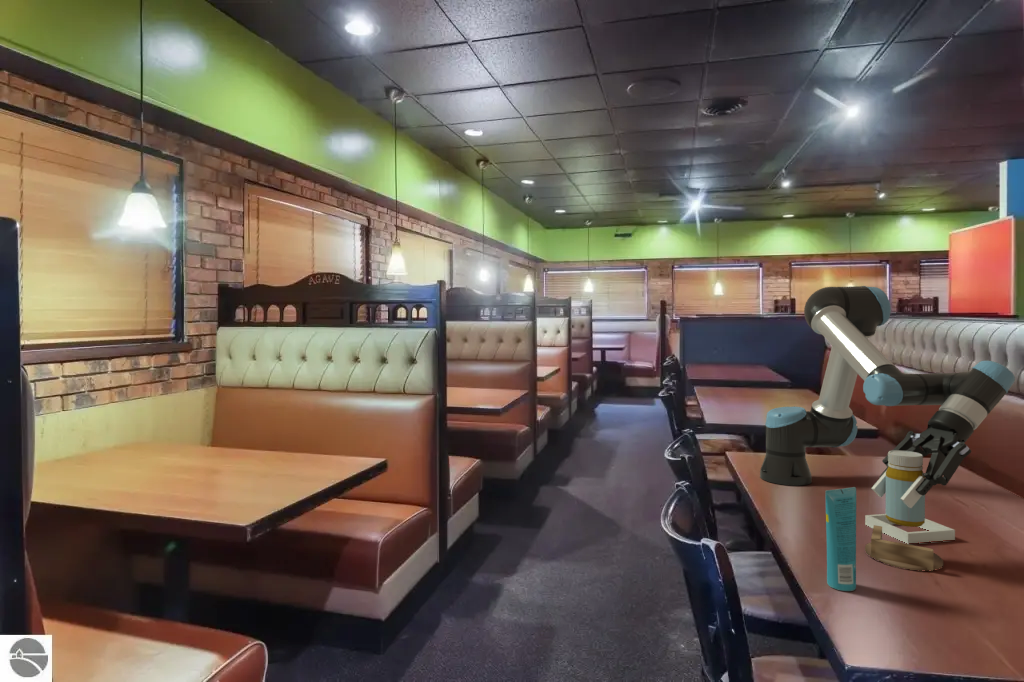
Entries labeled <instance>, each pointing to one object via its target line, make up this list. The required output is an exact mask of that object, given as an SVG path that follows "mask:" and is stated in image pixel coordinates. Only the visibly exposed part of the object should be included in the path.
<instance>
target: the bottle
mask: <svg viewBox="0 0 1024 682" xmlns="http://www.w3.org/2000/svg"><path fill="white" fill-rule="evenodd" d="M892 450H893V449H892ZM892 450H889V451H888V453H887V455H888V469H887V471H886V493H885V513H884V514H886V518H887V519H888V520H889V521H890V522H892V523H895V524H894V525H899V526H903V527H907V528H908V527H911V528H919V526H922V525H923V524H924V523H925V519H926V494H925V495H924V496H923V495H922V496H921V497H920V499H919V500H918V501H917V502H916V503H915V505H914V506H913V507H912V508H909V507H908V506H907V505H906V504H905V503H904V502H903V501H902V500H901V497H902V496H903V495H904V494H905V493H906V491H907V490H908V489H909V488H910V487H911V485H912V484H913V483H914V482H915V481H916V479H917V478H918V477H919V476H922V477H923V478H924V479H925V477H924V476H923V474H924V473H925V472H924V471H923V469H924V467H923V465H924V456H922V454H920V453H916V452H911V451H901V450H893V451H892ZM922 473H923V474H922Z"/></svg>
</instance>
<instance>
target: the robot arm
mask: <svg viewBox="0 0 1024 682" xmlns="http://www.w3.org/2000/svg"><path fill="white" fill-rule="evenodd" d="M890 301H891V300H889V296H888V295H887V294H886V292H885V291H884V290H883V289H881V288H879V287H877V286H867V285H861V286H860V285H859V286H856V285H855V286H825V287H823V288H819V289H817V290H816V291H814V292H813V293H812V294H810V296H809V297H808V298H807V300H806V302H805V304H804V307H803V313H804V319H805V321H806V323H807V325H808V326H809V327H810V329H812V331H813V332H814V333H816V334H818V335H822V336H823V337H824V338H825V339H826V340H827V341H828V342H829V343H830V345H831V349H830V352H829V356H828V360H827V364H826V368H825V369H826V370H825V372H824V376H823V381H822V385H821V389H820V393H819V397H818V399H817V400H814V401H813V402H812V403H811V408H810V410H809V411H807V410H806V408H804V407H801V406H781V407H775V408H772V409H770V410H768V411H767V412H766V416H765V417H766V418H765V456H764V458H763V462H762V464H761V468H760V471H759V478H760V479H761V480H764V481H765V482H768V483H772V484H777V485H784V486H807V485H810V484H812V479H813V477H812V473H811V468H810V467H809V464H808V461H807V459H806V451H807V450H806V448H839V447H846V446H849V445H850V444H851V443H852V442H853V441H855V438H856V436H857V433H858V425H857V424H858V421H857V417H855V415H854V414H853V412H854V411H853V410H852V409H851V407H850V405H851V400H852V397H853V393H854V389H855V385H856V382H857V377H858V376H859V377H860V378H861V379H862V380H863V381H864V382H863V385H862V389H863V391H862V392H863V393H864V394H865V399H866V401H868V402H869V403H870V404H871V405H874V406H886V407H896V406H897V407H898V406H899V407H901V406H902V407H903V406H940V407H939V408H938V410H936V411H935V412H934V414H933V415H932V416H931V418H930V419H929V420H928V421H927V428H926V429H925V430H923V431H922V432H921V433H914V431H913V430H909V431H908V432H907V433H906V435H905V437H904V439H902V440H901V441H900V442H899V443H898V444H897V445H896V446H895V447H894V448H893V449H892V450H891V451H893V450H901V451H911V452H916V453H920V454H922V456H923V457H926V456H928V455H930V454H931V455H930V458H929V462H928V464H927V467H926V470H925V472H923V473H924V474H923V473H922V474H923V476H924V477H925V479H924V478H923V477H922V476H919V477H918V478H917V479H916V481H915V482H914V483H913V484H912V485H911V487H910V488H909V489H908V490H907V491H906V493H905V494H904V495H903V496H902V497H901V500H902V501H903V502H904V503H905V504H906V505H907V506H908V507H909V508H912V507H913V506H914V505H915V503H916V502H917V501H918V500H919V499H920V497H921V496H922V495H923V496H924V495H925V496H926V494H928V492H929V491H930V490H931V489H932V487H933V486H937V485H941V486H947V485H948V484H949V482H950V480H951V479H952V477H953V476H954V474H955V473H956V472H957V470H958V468H959V467H960V465H961V464H962V462H963V461H964V459H965V458H966V457H967V456H969V455H970V454H971V453H972V450H971V448H970V447H969V446H968V445H967V444H966V442H967V441H968V439H969V438H970V437H971V436H972V435H973V433H974V432H975V430H976V429H978V427H979V426H980V425H981V424H982V422H983V421H984V420H985V419H986V418H987V416H988V415H989V414H990V413H991V412H993V411H992V410H994V409H995V407H996V406H997V405H998V404H999V403H1000V401H1001V400H1002V399H1003V398H1004V397H1005V396H1006V395H1007V394H1008V393H1009V390H1010V388H1012V387H1013V384H1014V383H1015V381H1016V377H1015V375H1014V373H1013V372H1012V371H1011V370H1010V369H1009V368H1008V367H1007V366H1006V365H1003V364H1001V363H999V362H996V361H993V360H981V361H979V362H978V363H977V364H975V365H974V366H973V367H971V370H970V371H962V372H943V373H942V372H940V373H939V372H938V373H934V372H933V373H904V372H902V371H901V369H899V368H898V367H897V366H896V365H895V364H894V363H893V362H892V361H891V360H890V359H889V358H887V357H886V355H885V354H884V353H883V352H882V351H881V350H880V349H878V348H877V347H876V345H875V344H873V342H872V341H870V340H869V338H871V337H874V336H875V333H876V331H877V327H881V326H883V325H885V324H886V323H888V321H889V319H890V317H891V313H892V312H891V311H892V310H891V309H892V306H891V302H890ZM882 463H883V464H884V465H885V466H886V468H885V469H884V471H883V472H882V473H881V474H880V475H879V479H878V480H877V481H876V482H875V483H874V484H873V486H872V487H871V490H872V491H873V492H874V493H875V494H876V495H877V496H878V497H880V498H882V497H884V495H886V471H887V469H888V454H887V455H886V456H885V457H883V459H882Z"/></svg>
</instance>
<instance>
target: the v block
mask: <svg viewBox="0 0 1024 682" xmlns="http://www.w3.org/2000/svg"><path fill="white" fill-rule="evenodd" d="M865 551H866V553H867V554H868V555H870V556H871V557H873V558H875V559H876V560H879V561H881V562H883V563H885V564H884V565H886V564H889V565H891V566H890V567H892V566H895V567H894V568H896V567H900V568H905V569H910V570H909V571H911V570H919V571H918V572H922V570H925V571H928V572H934V571H933V570H935V569H939V568H941V567H942V566H943V567H944V560H943V558H942V557H941V556H940V555H938V554H937V553H935V552H934V548H929V547H925V546H924V547H923V546H918V545H915V544H906V543H904V542H897V541H893V540H891V541H890V540H885V539H883V533H882V526H876V525H874V527H873V528H872V534H871V537H870V542H869V543H866V544H865V546H864V552H865ZM866 553H865V554H866ZM867 554H866V555H867ZM868 555H867V556H868ZM871 557H870V558H871ZM876 560H875V561H876ZM883 563H882V564H883ZM889 565H888V566H889ZM943 567H942V568H943ZM900 568H899V569H900ZM942 568H941V569H942ZM905 569H904V570H905ZM929 570H931V571H929Z"/></svg>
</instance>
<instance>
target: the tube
mask: <svg viewBox="0 0 1024 682" xmlns="http://www.w3.org/2000/svg"><path fill="white" fill-rule="evenodd" d="M824 496H825V530H826V531H825V532H826V583H827V586H829V587H830V588H832V589H835V590H838V591H843V592H852V591H855V590H856V589H857V488H856V487H855V486H853V487H846V488H837V489H829V490H828V489H827V490H825V495H824Z"/></svg>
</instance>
